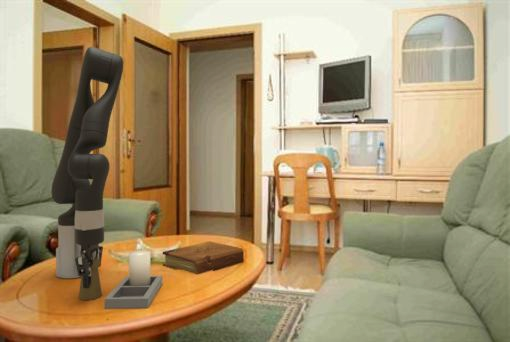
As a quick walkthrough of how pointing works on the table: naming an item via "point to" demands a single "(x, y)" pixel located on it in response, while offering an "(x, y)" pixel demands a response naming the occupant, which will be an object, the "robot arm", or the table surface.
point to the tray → (132, 294)
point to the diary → (203, 257)
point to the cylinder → (139, 268)
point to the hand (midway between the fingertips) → (90, 286)
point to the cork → (95, 287)
